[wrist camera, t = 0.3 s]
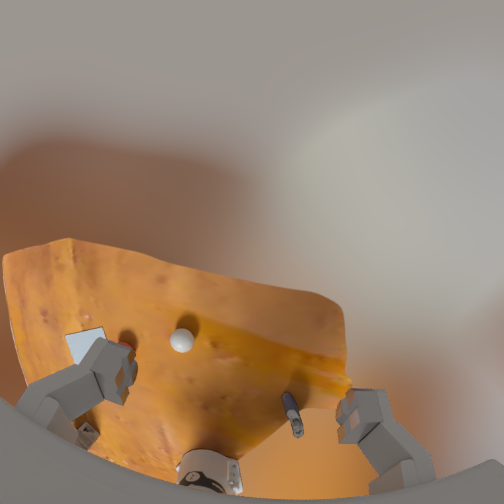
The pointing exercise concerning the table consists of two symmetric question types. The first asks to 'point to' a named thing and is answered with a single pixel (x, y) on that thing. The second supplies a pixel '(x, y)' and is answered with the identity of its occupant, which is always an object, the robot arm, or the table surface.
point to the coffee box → (86, 436)
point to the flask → (293, 414)
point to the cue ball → (182, 340)
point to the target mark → (83, 342)
